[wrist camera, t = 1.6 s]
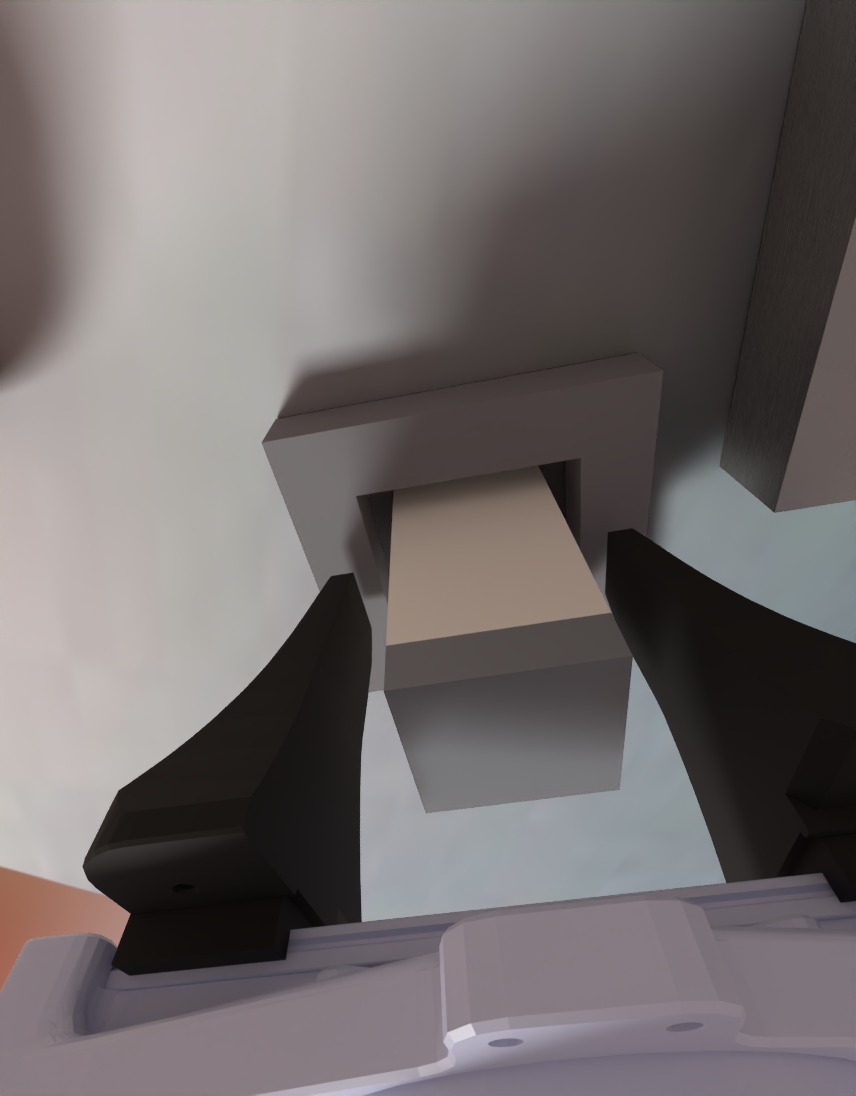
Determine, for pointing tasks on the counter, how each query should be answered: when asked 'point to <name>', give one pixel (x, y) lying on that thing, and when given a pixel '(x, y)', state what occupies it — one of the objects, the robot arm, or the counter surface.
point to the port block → (805, 290)
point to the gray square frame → (469, 462)
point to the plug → (500, 647)
